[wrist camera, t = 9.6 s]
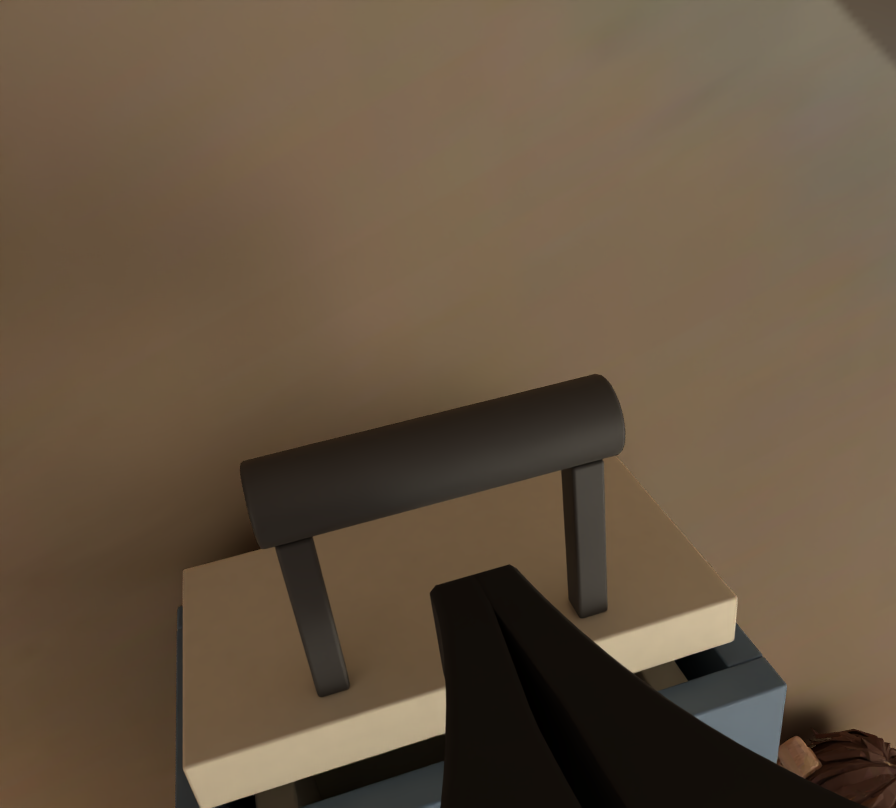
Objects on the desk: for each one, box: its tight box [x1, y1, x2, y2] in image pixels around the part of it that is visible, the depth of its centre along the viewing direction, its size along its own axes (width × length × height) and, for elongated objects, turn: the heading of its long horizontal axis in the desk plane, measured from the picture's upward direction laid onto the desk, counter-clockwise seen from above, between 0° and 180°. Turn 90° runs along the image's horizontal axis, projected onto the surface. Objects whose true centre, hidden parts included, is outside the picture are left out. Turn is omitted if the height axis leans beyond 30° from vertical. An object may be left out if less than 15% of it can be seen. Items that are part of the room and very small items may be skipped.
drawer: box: [183, 374, 738, 808], centre depth 19 cm, size 16×10×5 cm, turn 7°
